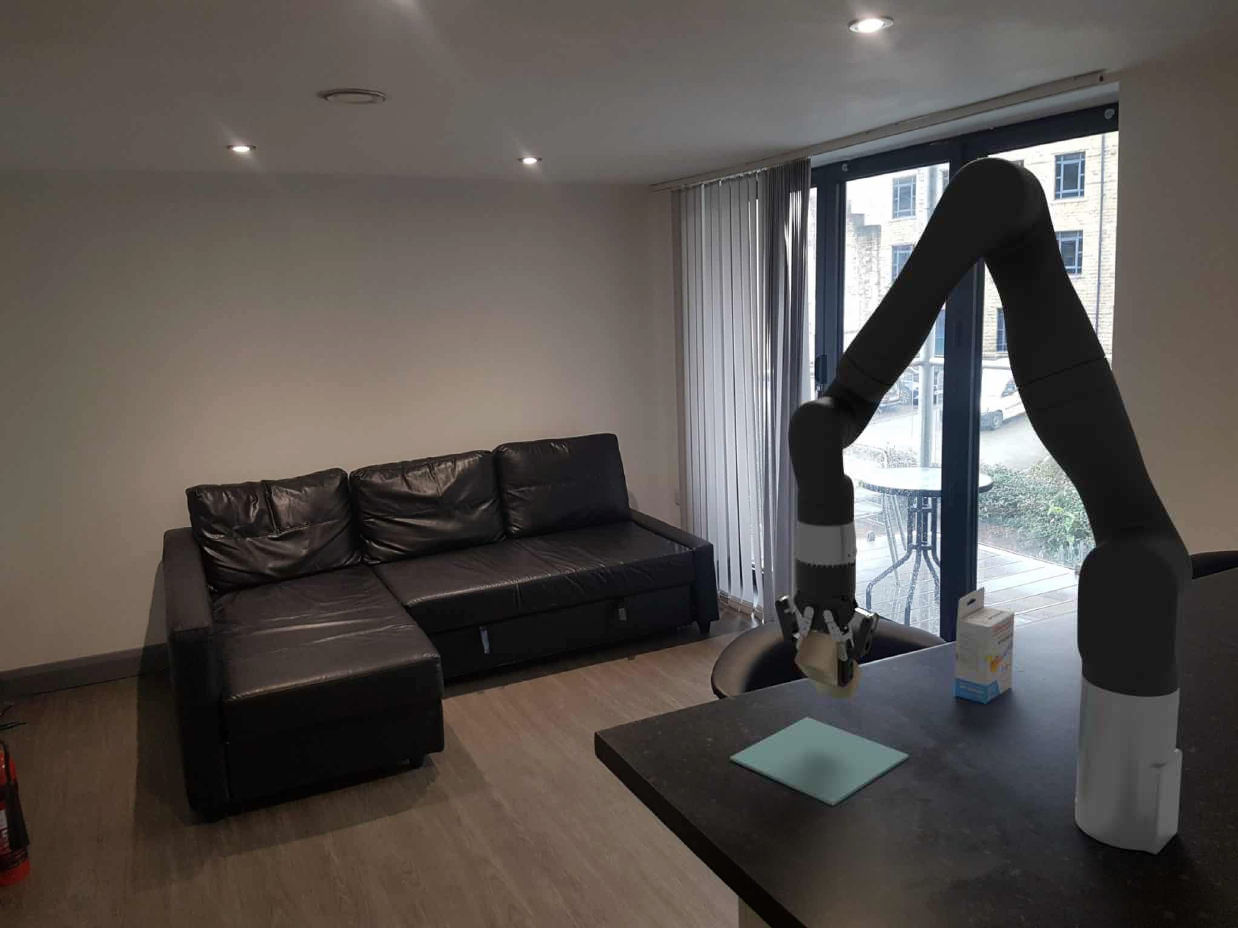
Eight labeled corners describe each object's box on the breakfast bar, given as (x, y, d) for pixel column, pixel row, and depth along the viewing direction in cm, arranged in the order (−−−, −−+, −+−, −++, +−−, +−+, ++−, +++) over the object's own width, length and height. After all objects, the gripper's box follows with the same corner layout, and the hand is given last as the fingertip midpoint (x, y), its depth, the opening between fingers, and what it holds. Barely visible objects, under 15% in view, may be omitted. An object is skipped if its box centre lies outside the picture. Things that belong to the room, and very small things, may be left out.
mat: (908, 757, 121) (908, 754, 121) (833, 805, 111) (833, 802, 111) (806, 719, 133) (806, 716, 133) (730, 759, 123) (730, 756, 123)
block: (861, 670, 127) (837, 636, 120) (851, 701, 125) (826, 668, 119) (831, 663, 130) (805, 629, 123) (820, 693, 128) (794, 660, 121)
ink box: (987, 705, 135) (989, 606, 132) (953, 696, 139) (955, 599, 136) (1013, 686, 141) (1016, 591, 138) (980, 678, 144) (983, 585, 142)
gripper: (761, 553, 122) (762, 678, 125) (865, 570, 113) (864, 704, 116) (789, 539, 128) (790, 659, 131) (891, 555, 119) (889, 683, 122)
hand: (825, 679), depth 124 cm, fingers closed on block, 4 cm apart
